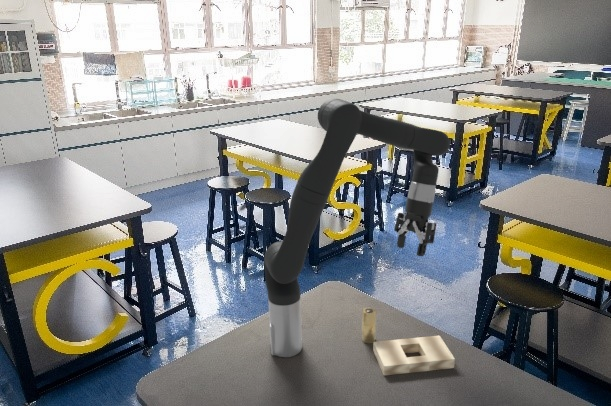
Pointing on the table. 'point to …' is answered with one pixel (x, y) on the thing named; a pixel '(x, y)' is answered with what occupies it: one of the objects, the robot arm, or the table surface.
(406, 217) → the robot arm
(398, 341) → the jig
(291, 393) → the table surface
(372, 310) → the bushing
